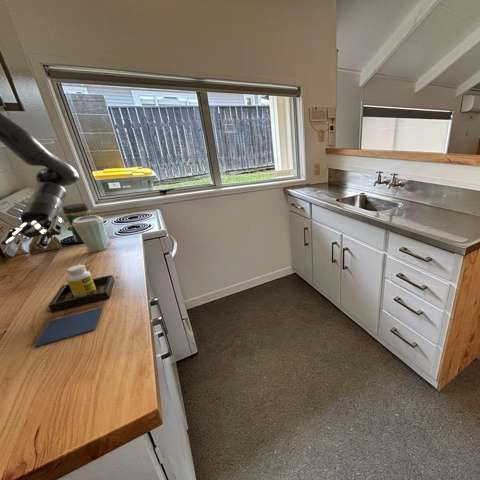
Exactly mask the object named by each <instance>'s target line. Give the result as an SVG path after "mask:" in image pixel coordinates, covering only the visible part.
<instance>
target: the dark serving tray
mask: <svg viewBox="0 0 480 480" xmlns="http://www.w3.org/2000/svg"><path fill="white" fill-rule="evenodd" d="M92 279H93V282H94V285H95V287H100V286H103V287H104V288H103V290H102V291H99V292H97V293H94V294H90V295H86V296H82V297H77V298H74V297H73V298H70V299H66V297H67V296H68V294H69V293H72V291H71V288H70V286H69V283H67V284H63V285H61V286H60V288H59V290H58V291H57V293H56V294H54V295H55V296H54V297H52V300H51V301H50V302H49V304H48V308H49V310H50V312H51V314H53V313H54V314H55V313H58V312H62V311H65V310H69V309H74V308H79V307H82V306H86V305H89V304H94V303H98V302H102V301H106V300H109V299H110V298H111V294H112V291H113V287H114V284H115V278H114V275H113V274H109V275H105V276H100V277H95V278H92Z"/></svg>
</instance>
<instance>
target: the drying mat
mask: <svg viewBox="0 0 480 480" xmlns="http://www.w3.org/2000/svg"><path fill="white" fill-rule="evenodd" d="M102 310H103V308H102V307H99V308H95V309H90V310H87V311H82V312H79V313H75V314H71V315H67V316H64V317H59V318H56V319H52V320H49V322H48V324H47V325H46V327H45V328H44V330H43V332H42V333H41V335H40V337H39V338H38V340H37V342H36V343H35V345H34V348H38V347H41V346H45V345H48V344H52V343H55V342H59V341H62V340H63V341H64V340H66V339H69V338H73V337H76V336H79V335H83V334H86V333H91V332H93V331H95V330H96V327H97V326H98V325H97V324H98V322H99V318H100V315H101V312H102Z"/></svg>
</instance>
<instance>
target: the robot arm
mask: <svg viewBox="0 0 480 480" xmlns="http://www.w3.org/2000/svg"><path fill="white" fill-rule="evenodd" d="M0 143H1V144H3V145H4V146H5V147H6V148H7V149H8V150H10V151H11V153H13V154H14V155H15V156H16V157H18V158H19V159H20V160H21V161H22V162H24V163H25V164H26V165H28V166H30V167H31V166H32V167H45V168H42V169H40V170H38V171H37V172H36V173H35V189H34V191H33V193H32V195H31V196H30V197H29V199H28V201H27V202H26V204H25V206H24V208H23V210H22V212H21V214H20V219H21V220H20V221H21V224H20V225H19V226H18V227H16V228H15V227H13V226H9V227H8V228H7V229H6V231H5V232H4V234H3V236H2V237H1V239H0V244H1V245H3V246H5V247H4V249H3V251H2V254H3V256H5V257H8V258H13V257H15V255H16V253H17V251H18V249H19V247H20V246H21V245H22V244H23V243H27V242H28V241H29V240H30V239H33V237H35V236H40V237H39V239H38V242H37V244H36V245H37V246H38V247H40V248H42V249H45V248H47V246H48V245H49V242H50V240H51V238H53V237H54V236H60V235H61V234H62V231H63V228H64V225H65V220H64V219H62V218H61V217H60V215H61V212H62V210H63V204H64V201H65V199H66V196H67V190H66V189H65V187H68V186H71V185H75V184H77V183H78V182H79V179H80V177H79V173H78V172H77V170H76V169H75V168H74V167H73V166H72V165H70V164H69V163H68V162H66V161H64V160H63V159H61V158H60V157H58V156H56V154H53V153H51V152H50V151H49V150H47V148H46V147H44V146H43V145H42V144H41V143H40V142H39V141H38V140H37V139H36V138H35V137H34V136H33V135H32V134H31V133H29V132H28V131H27V130H25V128H23V127H21V126H20V125H19V124H18V123H16V122H14V121H13V120H12V119H10V118H8V117H7V116H6V115H5V114H2V113H1V112H0ZM42 234H43V235H42ZM21 235H22V236H24V237H22V236H21ZM17 240H18V241H17Z"/></svg>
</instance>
